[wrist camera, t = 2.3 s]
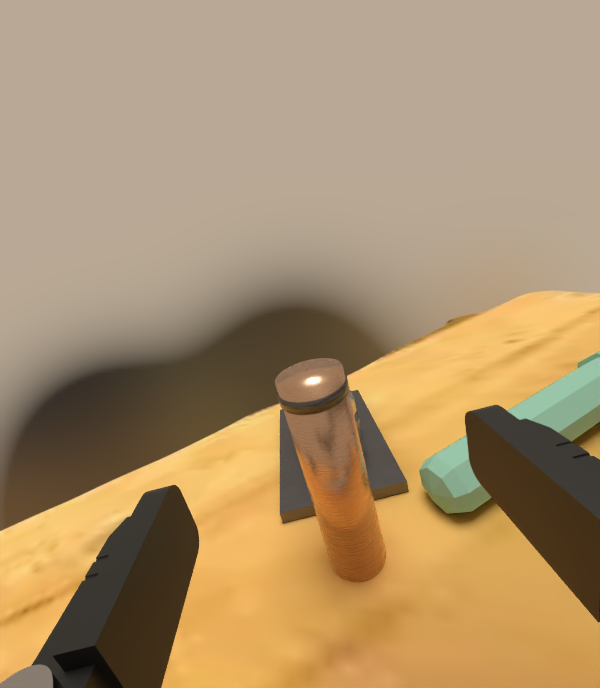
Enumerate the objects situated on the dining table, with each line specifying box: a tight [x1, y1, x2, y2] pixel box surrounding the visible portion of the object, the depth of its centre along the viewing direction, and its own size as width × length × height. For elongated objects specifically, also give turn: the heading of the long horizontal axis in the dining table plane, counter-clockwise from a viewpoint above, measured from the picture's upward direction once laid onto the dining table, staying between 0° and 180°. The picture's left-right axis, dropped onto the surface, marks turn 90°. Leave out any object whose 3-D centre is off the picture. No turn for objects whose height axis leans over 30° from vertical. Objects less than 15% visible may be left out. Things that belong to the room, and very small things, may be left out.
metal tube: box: [275, 358, 386, 582], centre depth 22 cm, size 5×5×16 cm
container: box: [419, 351, 600, 514], centre depth 29 cm, size 6×6×25 cm
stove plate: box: [280, 390, 408, 523], centre depth 37 cm, size 12×19×6 cm, turn 3°
